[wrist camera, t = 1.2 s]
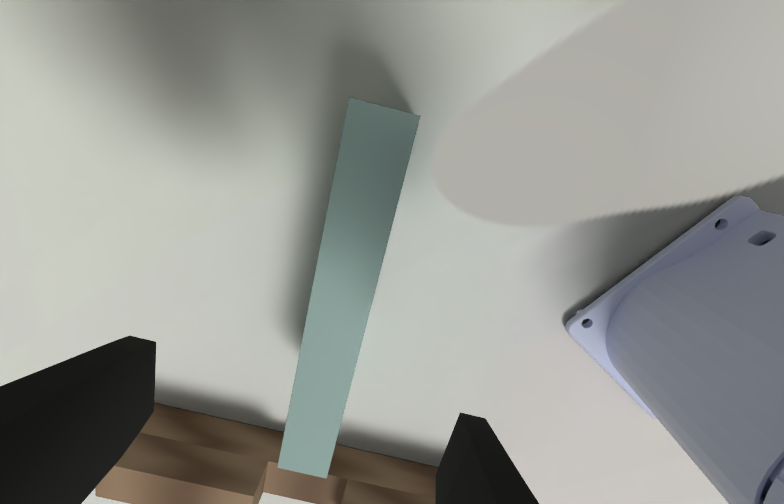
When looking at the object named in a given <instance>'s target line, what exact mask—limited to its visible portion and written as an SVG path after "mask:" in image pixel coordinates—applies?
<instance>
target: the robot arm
mask: <svg viewBox="0 0 784 504" xmlns="http://www.w3.org/2000/svg"><path fill="white" fill-rule="evenodd" d="M718 220H721V221H720V224H719V225H718V226H717V227H715V223H716V222H717V221H718ZM585 319H589V321H588V322H587V323H585V324H582V321H583V320H585ZM565 328H566V331H567V332H568V334H569V335H570V336H571V337H572V338H573V339H574V340H575V341H576V342H577V343H578V344H579V345H580V346H581V347H582V348H583V349H584V350H585V351H586V352H587V353H588V354H589V355H590V356H591V357H592V358H593V359H594V360H595V361H596V362H597V363H598V364H599V365H600V366H601V367H602V368H603V369H604V370H605V371H606V372H607V373H608V374H609V375H610V376H611V377H612V378H613V379H614V380H615V381H616V382H617V383H618V384H619V385H620V386H621V387H622V388H623V389H624V390H625V391H626V392H627V393H628V394H629V395H630V396H631V397H632V398H633V399H634V400H635V401H636V402H637V403H638V404H639V405H640V406H641V407H642V408H643V409H644V410H645V411H646V412H647V413H648V414H649V415H650V416H651V417H652V418H655V419H658V420H659V421H660V422H661V424H662V425H663V426H664V427H665V428H666V430H667V431H668V432H669V433H670V434H671V436H672V437H673V438H674V439H675V440H676V441H677V443H678V444H679V445H680V446H681V447H682V449H683V450H684V451H685V452H686V453H687V454H688V456H689V457H690V458H691V459H692V460H693V462H694V463H695V464H696V465H697V466H698V467H699V469H700V470H701V471H702V472H703V473H704V475H705V476H706V477H707V478H708V479H709V481H710V482H711V483H712V484H713V485H714V486H715V488H716V489H717V490H718V491H719V492H720V494H721V495H722V496H723V497H724V498H725V500H726V501H727V502H728V503H729V504H784V216H783V215H779V214H775V213H771V212H767V211H763V210H760V208H759V207H758V206H757V204H756V203H755V202H754V200H753V199H751V198H750V197H745V196H740V195H739V196H734V197H732V198H731V199H729V200H728V201H726V202H725V203H724V204H722V205H721V206H720V207H719V208H717V209H716V210H715V211H713V212H712V213H711V214H709V215H708V216H707V217H705V218H704V219H703V220H701V221H700V222H699V223H697V224H696V225H695V226H693V227H692V228H691V229H689V230H688V231H687V232H685V233H684V234H683V235H681V236H680V237H679V238H677V239H676V240H675V241H673V242H672V243H671V244H669V245H668V246H667V247H665V248H664V249H663V250H661V251H660V252H659V253H657V254H656V255H655V256H653V257H652V258H651V259H649V260H648V261H647V262H645V263H644V264H643V265H641V266H640V267H639V268H637V269H636V270H635V271H633V272H632V273H631V274H629V275H628V276H627V277H625V278H624V279H623V280H621V281H620V282H619V283H617V284H616V285H615V286H614V287H612V288H611V289H610V290H608V291H607V292H606V293H604V294H603V295H602V296H600V297H599V298H598V299H596V300H595V301H594V302H592V303H591V304H590V305H588V306H587V307H586V308H584V309H583V310H582V311H580V312H579V313H578V314H576V315H575V316H574V317H572V318H571V319H570V320H569V321H568V322H567V323H566V326H565ZM155 361H156V342H154V341H150V340H146V339H141V338H137V337H133V336H128V337H125V338H122V339H119V340H116V341H114V342H111V343H108V344H106V345H103V346H101V347H98V348H96V349H93V350H91V351H88V352H86V353H83V354H81V355H78V356H76V357H73V358H71V359H68V360H66V361H63V362H61V363H58V364H56V365H53V366H51V367H48V368H46V369H43V370H41V371H38V372H36V373H33V374H31V375H28V376H26V377H23V378H21V379H18V380H15V381H13V382H10V383H8V384H5V385H3V386H0V504H81V503H82V502H83V501H84V500H85V499H86V498H87V496H88V495H89V494H90V493H91V492H92V491H93V490H94V488H95V487H96V486H97V485H98V484H99V483H100V481H101V480H102V479H103V478H104V477H105V476H106V475H107V473H108V472H109V471H110V470H111V469H112V468H113V466H114V465H115V464H116V463H117V462H118V461H119V459H120V458H121V457H122V456H123V455H124V453H125V452H126V450H127V449H128V448H129V446H130V445H131V444H132V442H133V441H134V439H135V438H136V437H137V435H138V434H139V432H140V431H141V429H142V428H143V427H144V425H145V424H146V422H147V421H148V419H149V418H150V416H151V415H152V413H153V412H154V391H155ZM435 504H539V503H538V501H537V500H536V498H535V497H534V495H533V494H532V492H531V491H530V489H529V488H528V486H527V484H526V483H525V481H524V480H523V478H522V477H521V475H520V473H519V472H518V470H517V469H516V467H515V465H514V464H513V462H512V461H511V459H510V457H509V456H508V454H507V453H506V451H505V449H504V448H503V446H502V445H501V443H500V441H499V440H498V438H497V436H496V435H495V433H494V432H493V430H492V428H491V427H490V425H489V424H488V422H487V421H486V419H485V418H481V417H477V416H472V415H468V414H464V413H460V415H459V417H458V420H457V422H456V425H455V427H454V430H453V432H452V435H451V437H450V440H449V443H448V445H447V448H446V450H445V453H444V455H443V458H442V460H441V463H440V465H439V468H438V470H437V473H436V495H435Z"/></svg>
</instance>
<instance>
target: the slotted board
mask: <svg viewBox="0 0 784 504" xmlns="http://www.w3.org/2000/svg"><path fill="white" fill-rule="evenodd" d="M283 436H284V433H283V432H279V431H275V430H270V429H266V428H261V427H257V426H253V425H248V424H244V423H239V422H235V421H231V420H226V419H222V418H217V417H213V416H209V415H204V414H200V413H195V412H191V411H187V410H182V409H178V408H173V407H169V406H165V405H160V404H156V403H154V412H153V413H152V415H151V416H150V418H149V419H148V421H147V422H146V424H145V425H144V427H143V428H142V429H141V431H140V432H139V434H138V435H137V437H136V438H135V439H134V441H133V442H132V444H131V445H130V446H129V448H128V449H127V450H126V452H125V453H124V455H123V456H122V457H121V458H120V459H119V461H118V462H117V463H116V464H115V465H114V466H113V468H112V469H111V470H110V471H109V472H108V473H107V475H106V476H105V477H104V478H103V479H102V480H101V481H100V483H99V484H98V485H97V486H96V487H95V488H96V496H98V497H103V498H107V499H112V500H116V501H121V502H126V503H130V504H258V503H259V500H260V498H261V495H262V493H263V492H266V493H270V494H275V495H279V496H284V497H288V498H293V499H297V500H302V501H306V502H311V503H315V504H435V495H436V473H437V470H438V468H437V467H433V466H428V465H424V464H420V463H415V462H411V461H406V460H402V459H398V458H393V457H389V456H384V455H380V454H376V453H371V452H367V451H362V450H358V449H354V448H349V447H345V446H340V445H336V444H335V448H334V452H333V456H332V459H331V463H330V467H329V471H328V475H327V479H326V478H322V477H317V476H313V475H308V474H304V473H299V472H295V471H290V470H286V469H281V468H277V467H278V462H279V457H280V452H281V447H282V441H283Z"/></svg>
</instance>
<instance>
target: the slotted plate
mask: <svg viewBox="0 0 784 504" xmlns="http://www.w3.org/2000/svg"><path fill="white" fill-rule="evenodd" d="M419 119H420V116H418V115H415V114H411V113H407V112H403V111H400V110H396V109H392V108H388V107H385V106H381V105H377V104H373V103H370V102H366V101H362V100H358V99H355V98H351V97H349V100H348V105H347V110H346V115H345V120H344V126H343V131H342V136H341V141H340V146H339V151H338V157H337V162H336V167H335V172H334V177H333V183H332V188H331V193H330V198H329V203H328V208H327V214H326V219H325V224H324V229H323V234H322V240H321V245H320V250H319V255H318V260H317V265H316V271H315V276H314V281H313V286H312V291H311V296H310V302H309V307H308V312H307V317H306V322H305V328H304V333H303V338H302V343H301V348H300V353H299V359H298V364H297V369H296V374H295V379H294V385H293V390H292V395H291V400H290V405H289V410H288V416H287V421H286V426H285V431H284V436H283V441H282V447H281V452H280V457H279V462H278V467H277V468H281V469H286V470H290V471H295V472H299V473H304V474H308V475H313V476H317V477H322V478H326V479H327V475H328V471H329V467H330V463H331V459H332V456H333V452H334V448H335V444H336V440H337V436H338V432H339V429H340V425H341V421H342V417H343V413H344V409H345V405H346V401H347V398H348V394H349V390H350V386H351V382H352V378H353V374H354V371H355V367H356V363H357V359H358V355H359V351H360V347H361V343H362V340H363V336H364V332H365V328H366V324H367V320H368V316H369V312H370V309H371V305H372V301H373V297H374V293H375V289H376V285H377V282H378V278H379V274H380V270H381V266H382V262H383V258H384V254H385V251H386V247H387V243H388V239H389V235H390V231H391V227H392V224H393V220H394V216H395V212H396V208H397V204H398V200H399V196H400V193H401V189H402V185H403V181H404V177H405V173H406V169H407V165H408V162H409V158H410V154H411V150H412V146H413V142H414V138H415V135H416V131H417V127H418V123H419Z"/></svg>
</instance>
